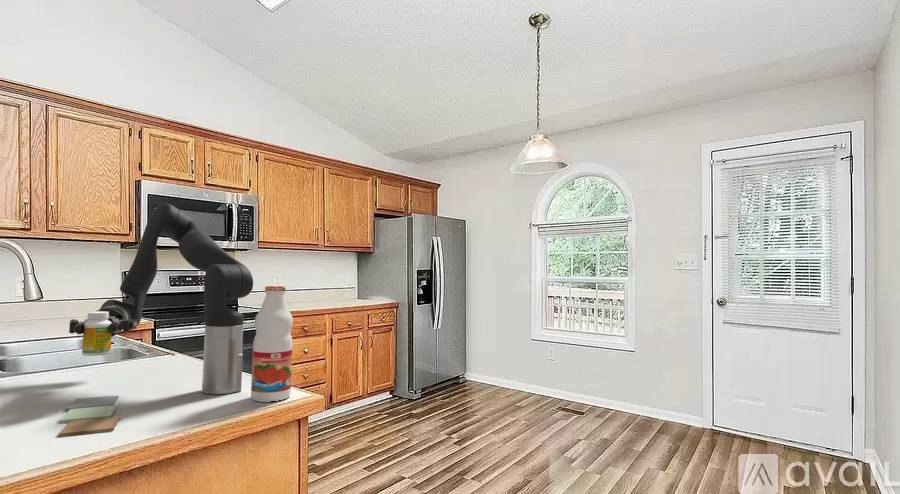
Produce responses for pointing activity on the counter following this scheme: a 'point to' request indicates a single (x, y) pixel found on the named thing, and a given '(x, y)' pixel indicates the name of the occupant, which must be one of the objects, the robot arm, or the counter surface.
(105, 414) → the sage pad
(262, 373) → the fruit juice
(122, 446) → the counter surface
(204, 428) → the counter surface
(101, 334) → the supplement bottle
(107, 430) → the walnut pad
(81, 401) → the slate pad
